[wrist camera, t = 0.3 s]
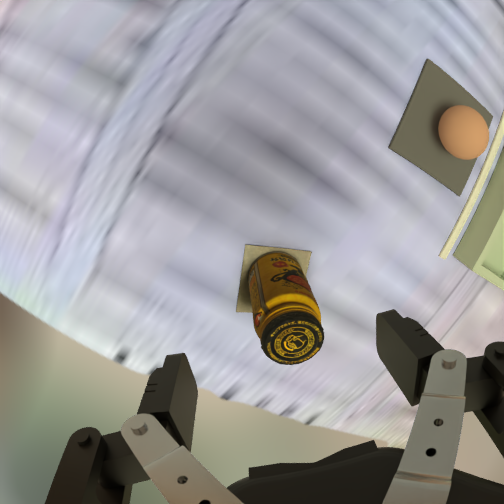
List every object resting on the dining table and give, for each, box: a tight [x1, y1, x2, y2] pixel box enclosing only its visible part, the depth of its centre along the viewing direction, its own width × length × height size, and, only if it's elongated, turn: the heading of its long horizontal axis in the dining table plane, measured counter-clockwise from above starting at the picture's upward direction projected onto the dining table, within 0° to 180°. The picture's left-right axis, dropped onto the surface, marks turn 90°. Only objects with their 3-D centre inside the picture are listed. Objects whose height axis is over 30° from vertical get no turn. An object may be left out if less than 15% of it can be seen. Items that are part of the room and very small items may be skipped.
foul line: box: [439, 111, 504, 259], centre depth 33 cm, size 24×1×1 cm, turn 157°
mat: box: [388, 59, 493, 196], centre depth 30 cm, size 12×12×1 cm
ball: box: [438, 105, 489, 160], centre depth 27 cm, size 6×6×6 cm
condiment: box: [236, 245, 324, 365], centre depth 31 cm, size 7×8×12 cm
